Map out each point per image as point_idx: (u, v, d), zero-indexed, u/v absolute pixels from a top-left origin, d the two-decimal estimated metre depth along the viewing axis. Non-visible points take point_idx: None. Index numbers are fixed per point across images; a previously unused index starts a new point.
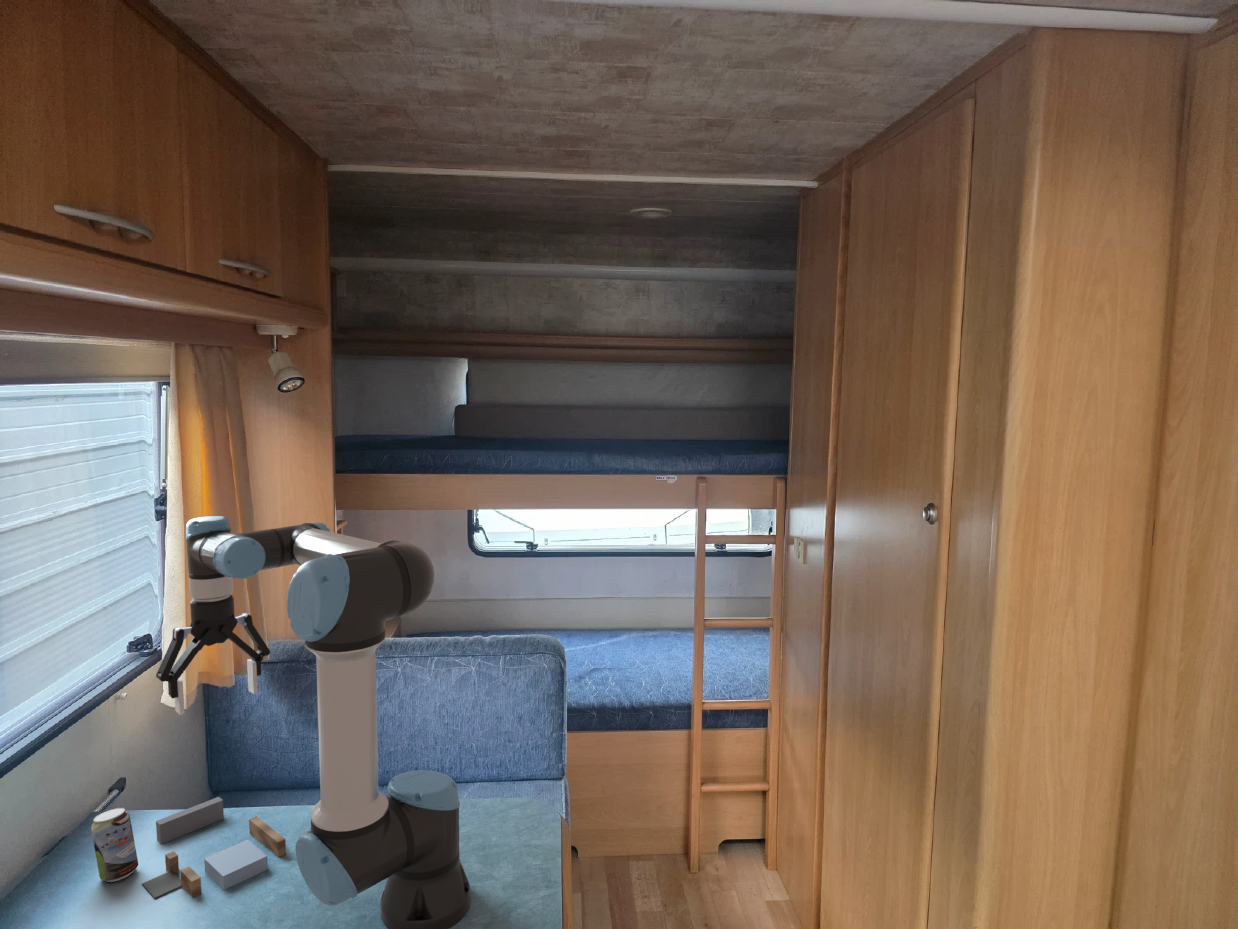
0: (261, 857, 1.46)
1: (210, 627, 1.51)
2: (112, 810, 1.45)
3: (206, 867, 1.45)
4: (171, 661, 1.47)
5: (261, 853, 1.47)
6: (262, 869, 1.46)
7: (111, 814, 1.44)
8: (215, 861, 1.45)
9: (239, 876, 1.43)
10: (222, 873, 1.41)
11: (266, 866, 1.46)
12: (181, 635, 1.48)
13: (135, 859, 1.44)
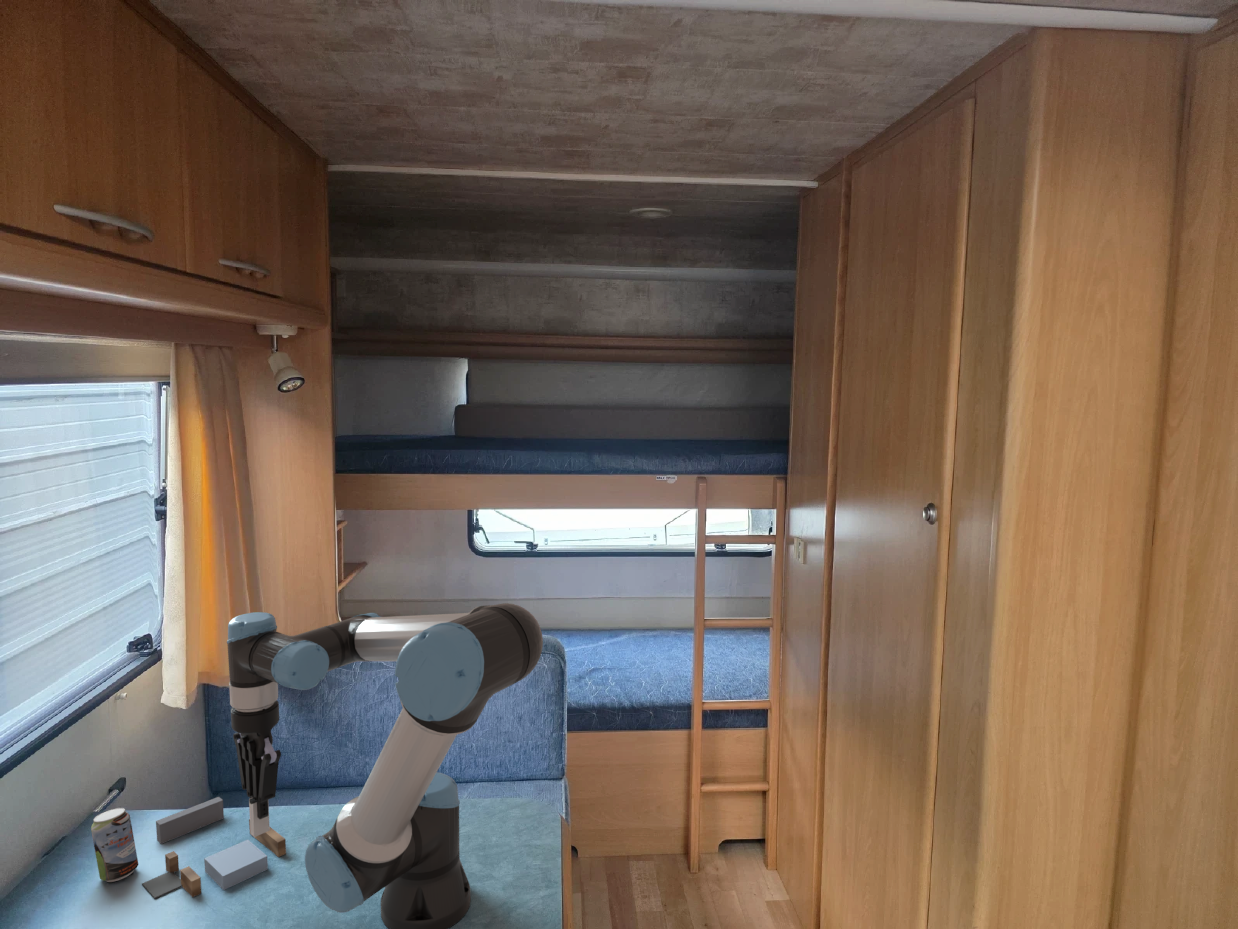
0: (261, 857, 1.46)
1: (245, 734, 1.36)
2: (112, 810, 1.45)
3: (206, 867, 1.45)
4: (240, 768, 1.38)
5: (261, 853, 1.47)
6: (262, 869, 1.46)
7: (111, 814, 1.44)
8: (215, 861, 1.45)
9: (239, 876, 1.43)
10: (222, 873, 1.41)
11: (266, 866, 1.46)
12: (235, 740, 1.39)
13: (135, 859, 1.44)
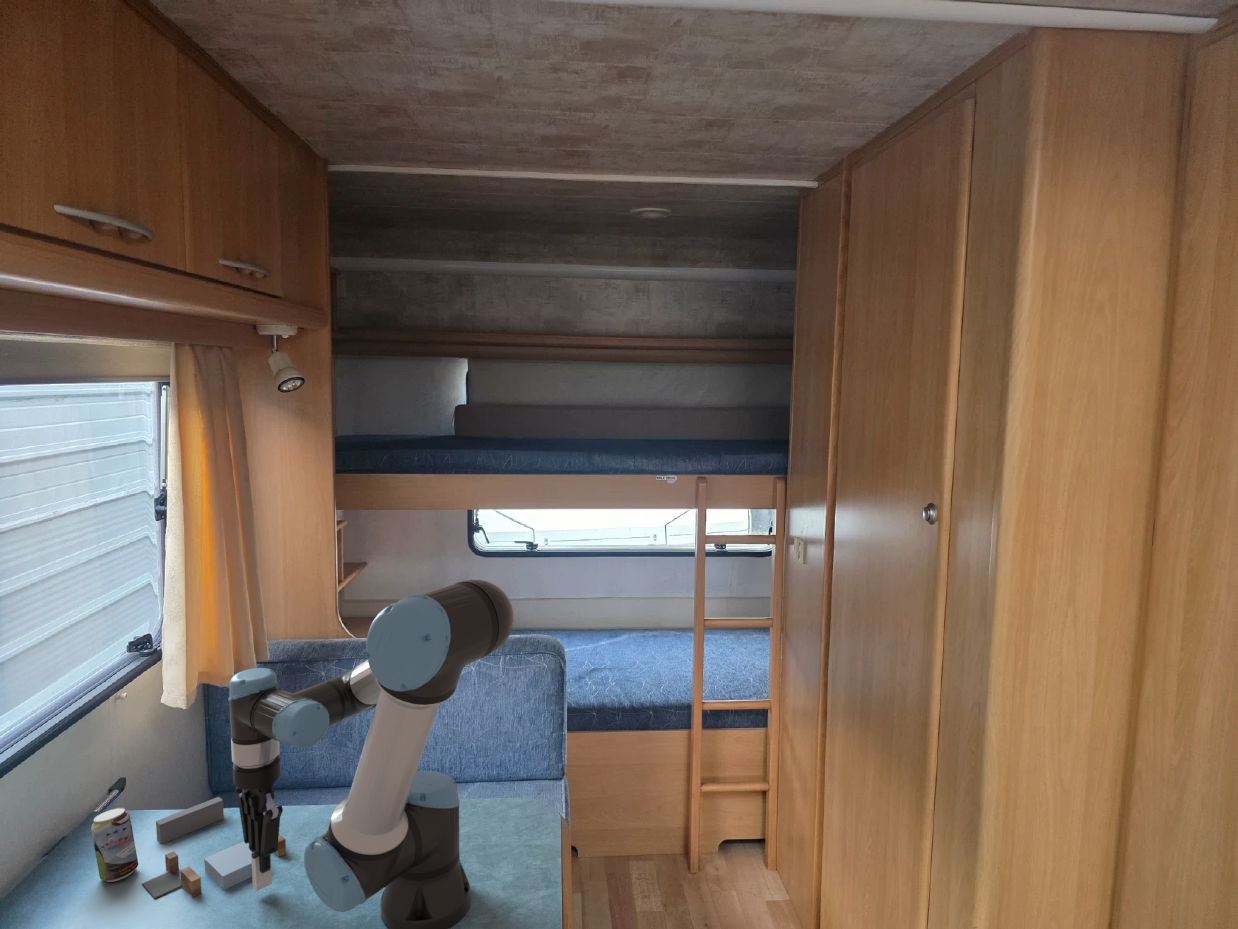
0: None
1: None
2: (112, 810, 1.45)
3: (206, 867, 1.45)
4: (242, 822, 1.40)
5: None
6: None
7: (111, 814, 1.44)
8: (214, 861, 1.45)
9: (238, 876, 1.43)
10: (222, 873, 1.41)
11: None
12: (237, 794, 1.40)
13: (135, 859, 1.44)
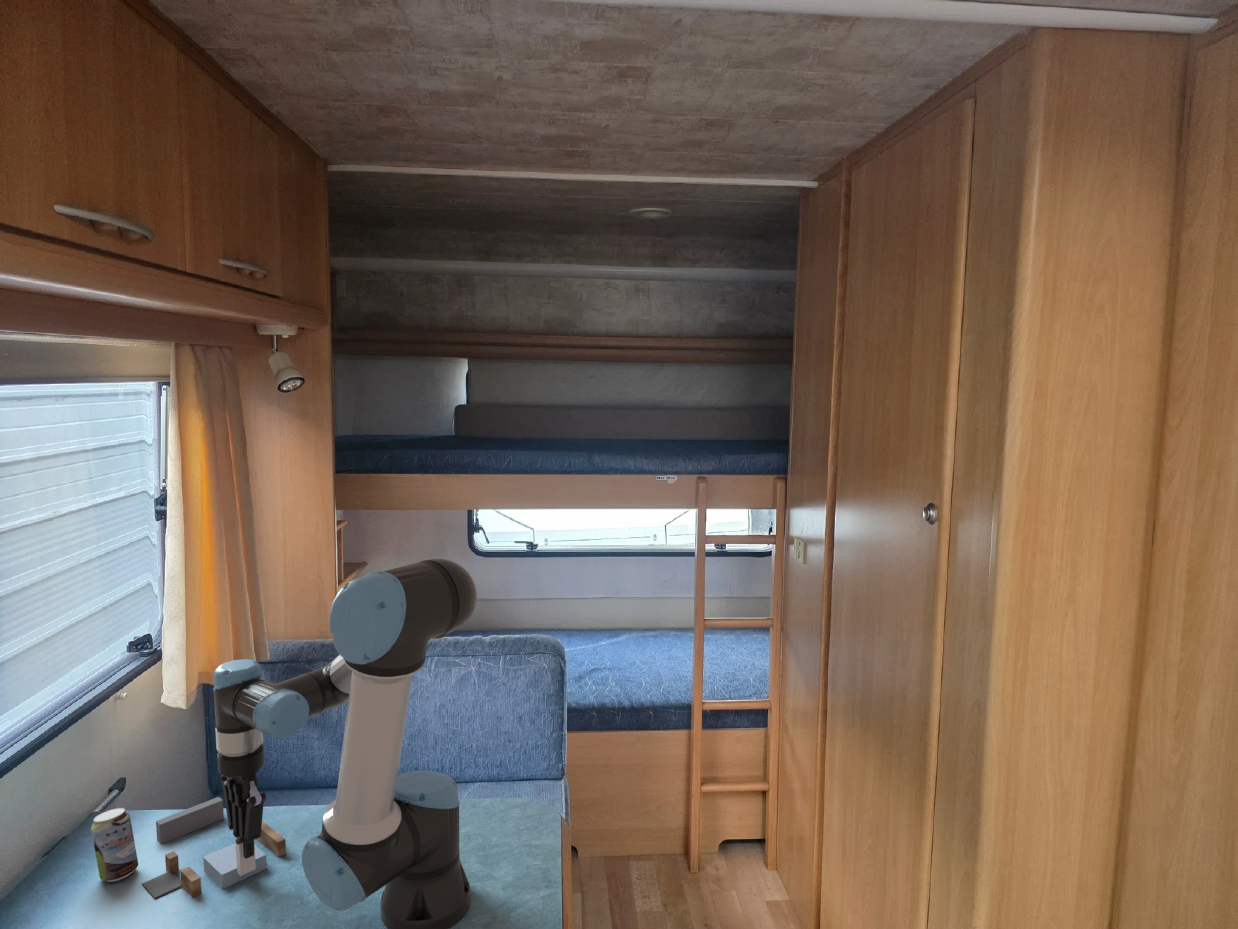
0: (260, 856, 1.46)
1: (231, 777, 1.41)
2: (112, 810, 1.45)
3: (205, 866, 1.45)
4: (227, 809, 1.44)
5: (260, 852, 1.47)
6: (261, 868, 1.46)
7: (111, 814, 1.44)
8: (214, 859, 1.45)
9: (237, 874, 1.43)
10: (221, 872, 1.41)
11: (265, 865, 1.47)
12: (222, 782, 1.44)
13: (135, 859, 1.44)
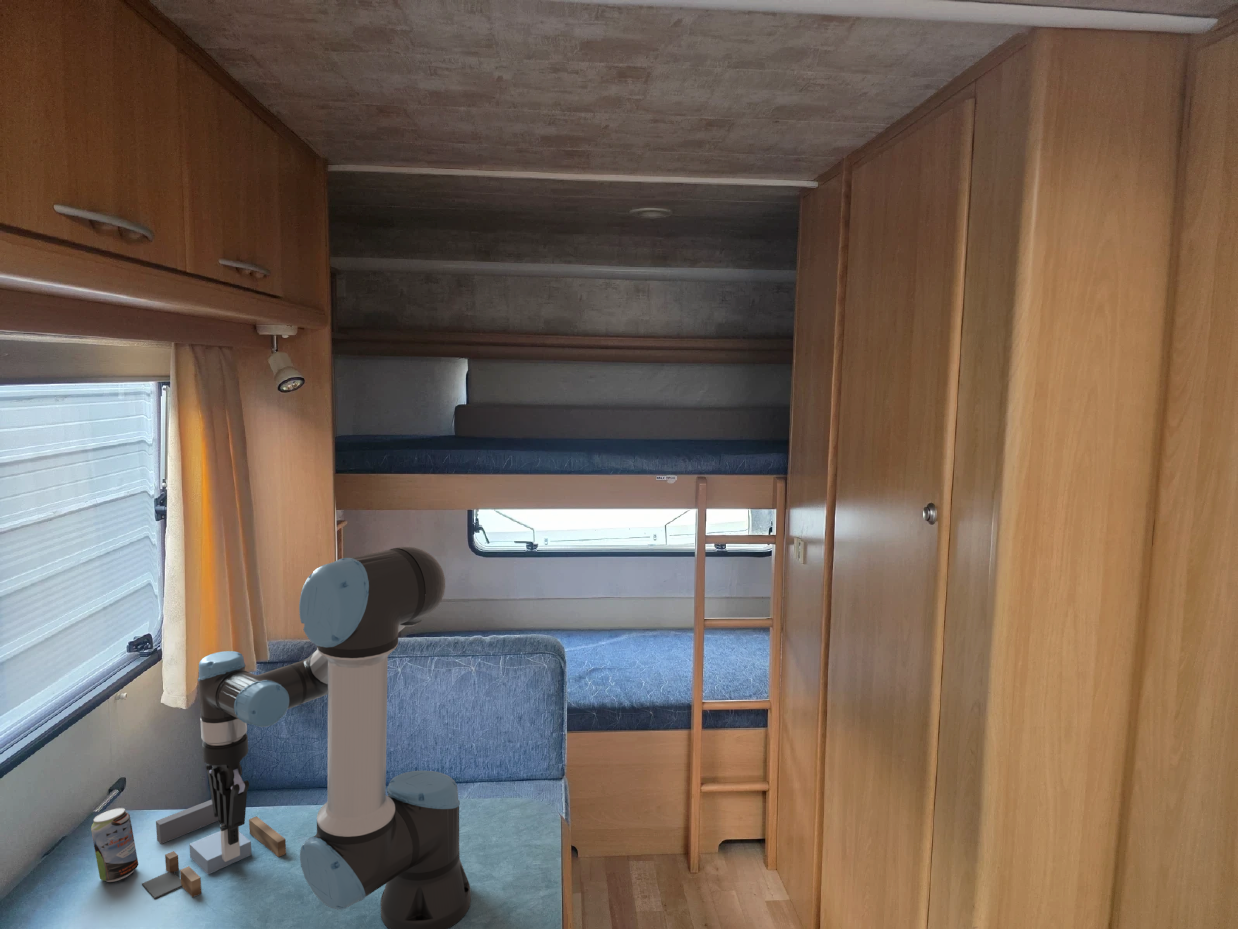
0: (245, 842, 1.50)
1: (216, 765, 1.45)
2: (112, 810, 1.45)
3: (191, 852, 1.49)
4: (212, 797, 1.48)
5: (245, 839, 1.51)
6: (246, 854, 1.50)
7: (111, 814, 1.44)
8: (199, 846, 1.49)
9: (223, 860, 1.47)
10: (206, 858, 1.45)
11: (250, 851, 1.51)
12: (208, 770, 1.48)
13: (135, 859, 1.44)
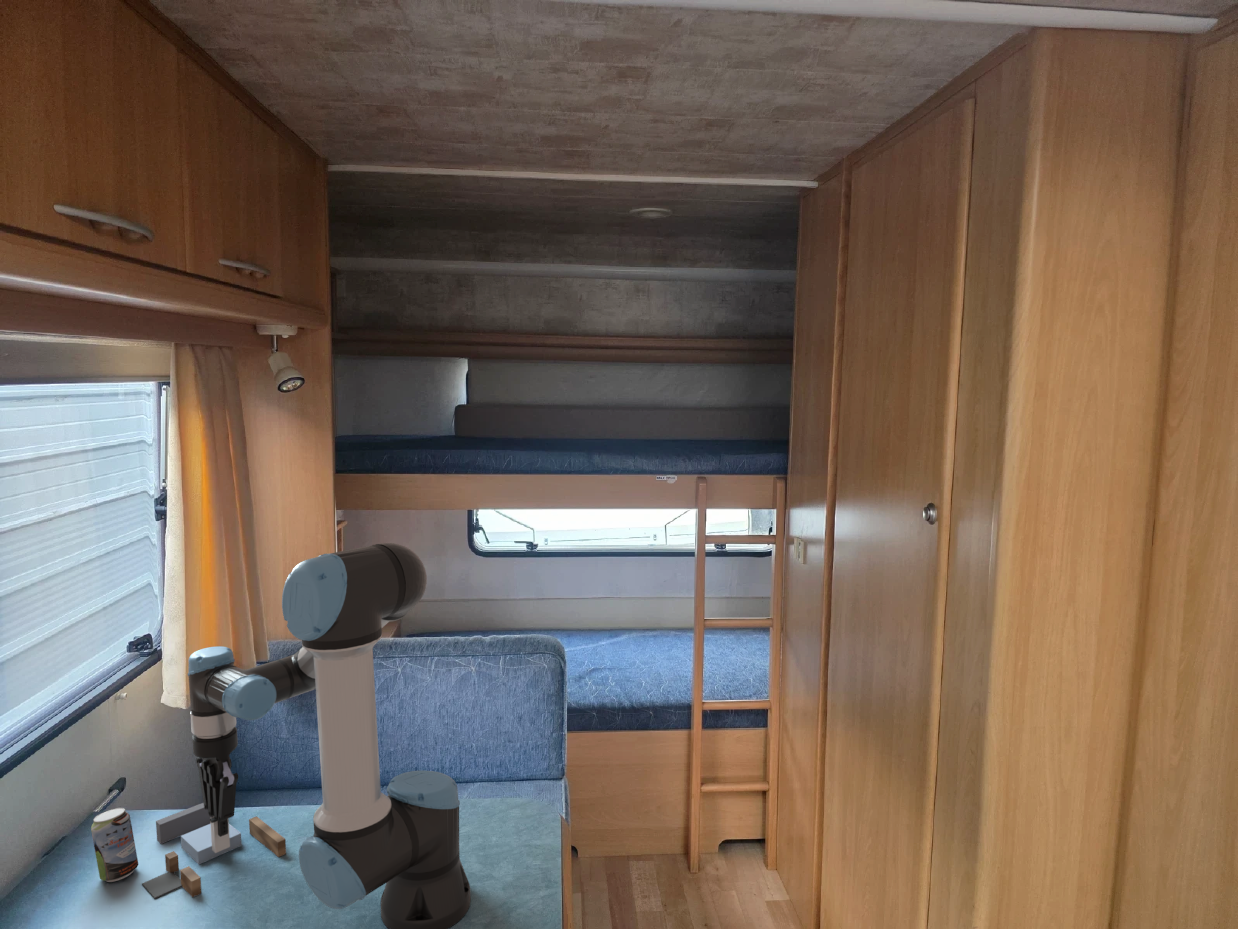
0: (235, 834, 1.53)
1: (206, 758, 1.48)
2: (112, 810, 1.45)
3: (182, 844, 1.52)
4: (202, 789, 1.50)
5: (235, 831, 1.54)
6: (236, 846, 1.53)
7: (111, 814, 1.44)
8: (190, 838, 1.52)
9: None
10: (197, 849, 1.48)
11: (240, 843, 1.54)
12: (198, 764, 1.51)
13: (135, 859, 1.44)
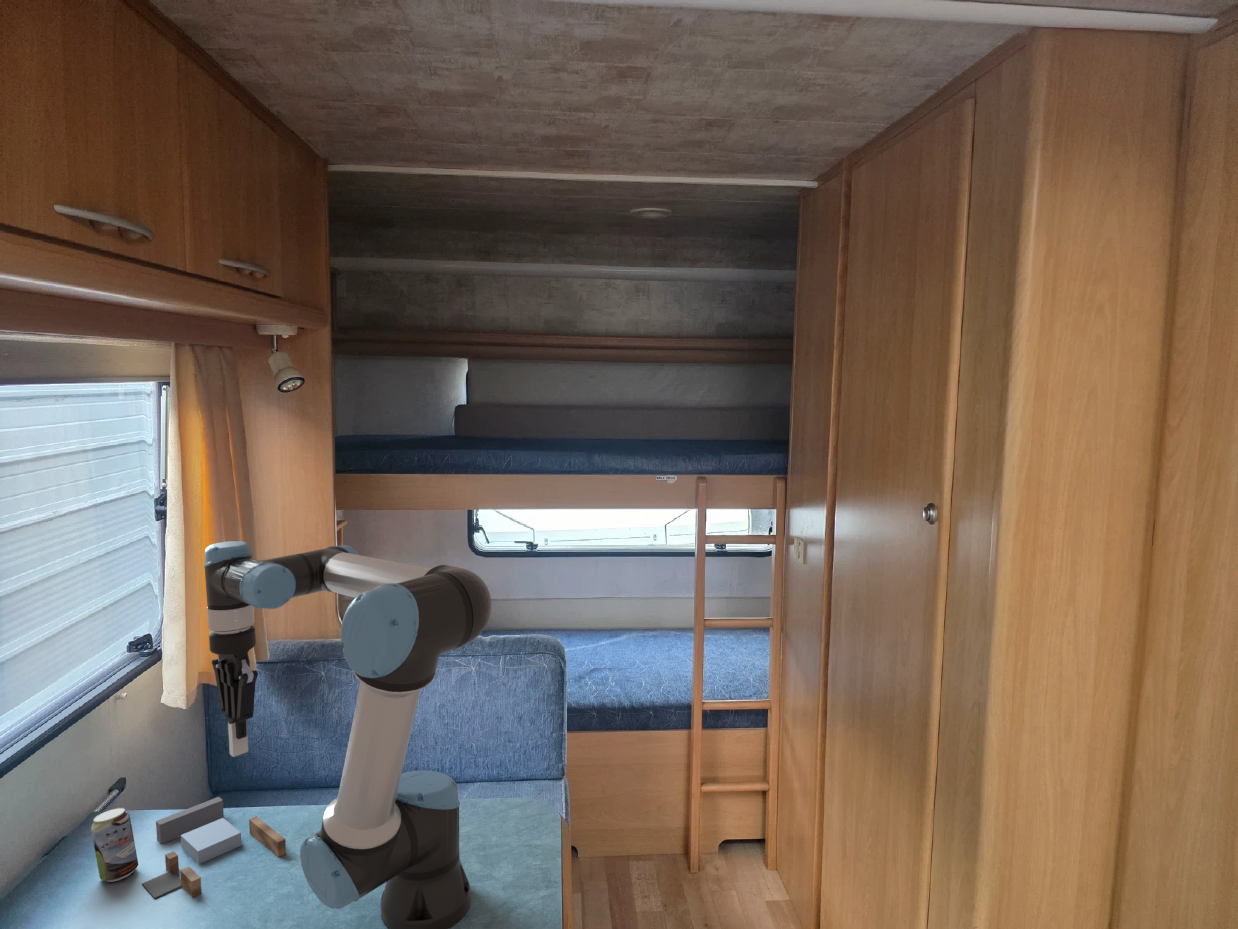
0: (235, 834, 1.53)
1: (223, 658, 1.42)
2: (112, 810, 1.45)
3: (182, 843, 1.52)
4: (219, 692, 1.44)
5: (235, 830, 1.54)
6: (236, 845, 1.53)
7: (111, 814, 1.44)
8: (190, 837, 1.52)
9: (213, 851, 1.50)
10: (197, 848, 1.48)
11: (240, 842, 1.54)
12: (214, 665, 1.45)
13: (135, 859, 1.44)
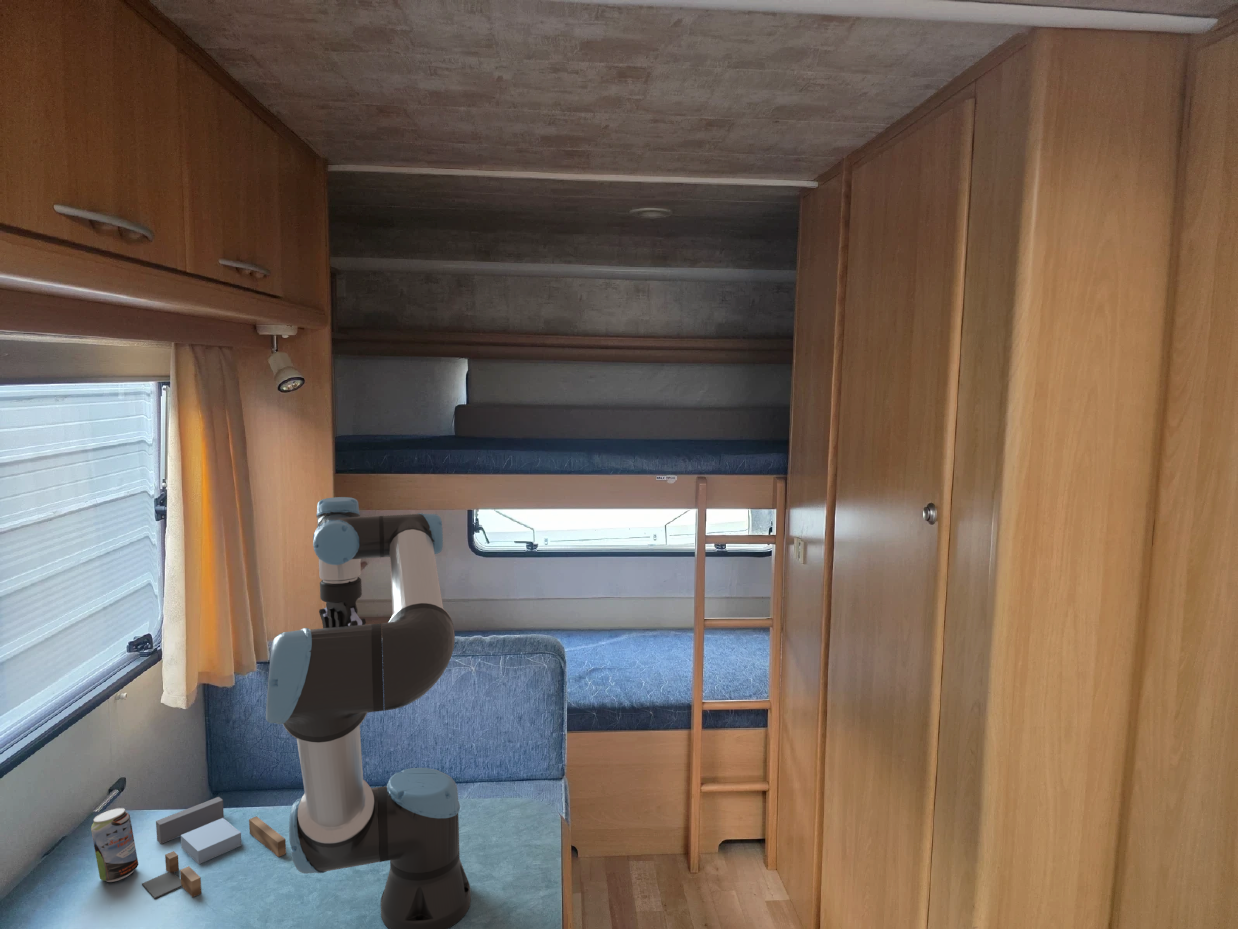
0: (235, 834, 1.53)
1: (332, 607, 1.51)
2: (112, 810, 1.45)
3: (182, 843, 1.52)
4: None
5: (235, 830, 1.54)
6: (236, 845, 1.53)
7: (111, 814, 1.44)
8: (190, 837, 1.52)
9: (213, 851, 1.50)
10: (197, 848, 1.48)
11: (240, 842, 1.54)
12: (321, 614, 1.54)
13: (135, 859, 1.44)
